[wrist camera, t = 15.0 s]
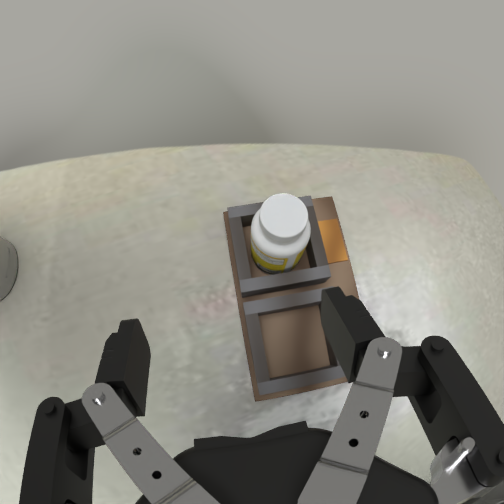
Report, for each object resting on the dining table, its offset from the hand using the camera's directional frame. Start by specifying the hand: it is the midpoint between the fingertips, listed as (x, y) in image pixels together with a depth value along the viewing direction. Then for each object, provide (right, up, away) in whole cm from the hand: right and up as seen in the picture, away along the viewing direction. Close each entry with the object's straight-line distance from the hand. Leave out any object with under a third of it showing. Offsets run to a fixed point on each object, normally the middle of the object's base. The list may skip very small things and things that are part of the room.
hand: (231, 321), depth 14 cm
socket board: (+6, -2, +21) cm, 22 cm away
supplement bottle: (+3, +3, +22) cm, 22 cm away
